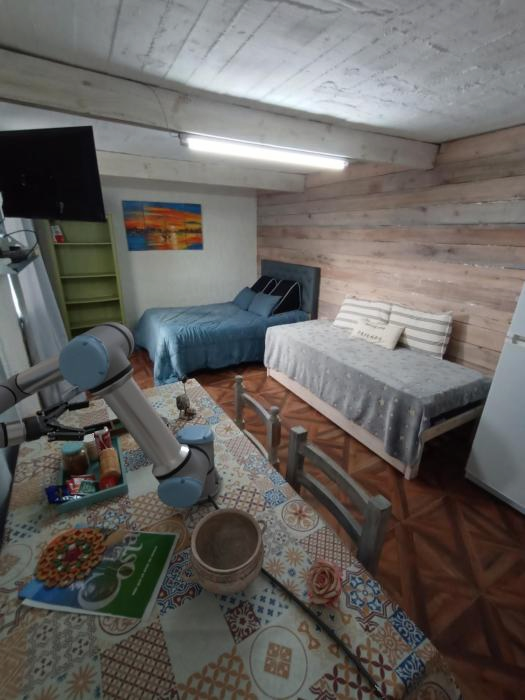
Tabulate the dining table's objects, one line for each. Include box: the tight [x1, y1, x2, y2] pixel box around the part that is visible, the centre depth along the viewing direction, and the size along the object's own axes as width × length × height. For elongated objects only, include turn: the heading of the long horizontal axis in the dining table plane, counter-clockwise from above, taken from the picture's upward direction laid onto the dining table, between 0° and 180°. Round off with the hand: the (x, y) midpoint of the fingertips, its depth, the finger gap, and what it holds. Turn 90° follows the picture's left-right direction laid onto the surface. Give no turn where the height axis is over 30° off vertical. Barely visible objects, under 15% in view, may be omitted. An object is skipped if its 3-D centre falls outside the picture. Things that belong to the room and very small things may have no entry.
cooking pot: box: [179, 507, 268, 596], centre depth 81 cm, size 25×19×12 cm
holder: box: [94, 417, 129, 438], centre depth 138 cm, size 8×16×3 cm, turn 124°
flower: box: [306, 557, 344, 609], centre depth 77 cm, size 10×9×8 cm
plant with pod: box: [175, 374, 198, 421], centre depth 147 cm, size 8×11×20 cm
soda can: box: [93, 427, 113, 455], centre depth 121 cm, size 5×5×12 cm
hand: (96, 414), depth 112 cm, fingers open, 13 cm apart
